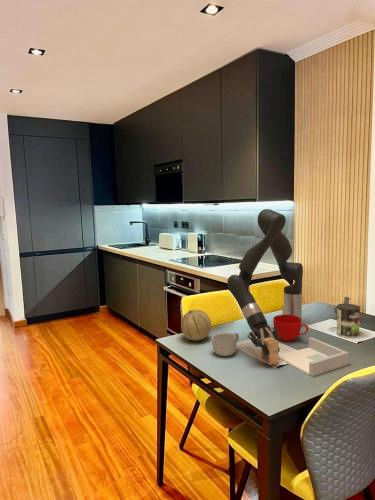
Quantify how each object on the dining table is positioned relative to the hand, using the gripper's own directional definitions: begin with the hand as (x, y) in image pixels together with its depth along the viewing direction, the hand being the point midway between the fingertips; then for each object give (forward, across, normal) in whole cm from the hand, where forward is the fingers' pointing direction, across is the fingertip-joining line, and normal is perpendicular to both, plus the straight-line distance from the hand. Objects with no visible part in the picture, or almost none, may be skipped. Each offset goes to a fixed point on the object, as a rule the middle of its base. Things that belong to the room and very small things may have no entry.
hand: (273, 353), depth 144 cm
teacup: (-10, -8, +19) cm, 23 cm away
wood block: (+2, 0, +4) cm, 5 cm away
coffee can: (-2, +54, +11) cm, 55 cm away
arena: (+7, +17, +1) cm, 18 cm away
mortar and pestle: (-13, +71, +22) cm, 75 cm away
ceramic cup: (-8, +26, +17) cm, 32 cm away
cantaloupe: (-25, -12, +34) cm, 44 cm away
